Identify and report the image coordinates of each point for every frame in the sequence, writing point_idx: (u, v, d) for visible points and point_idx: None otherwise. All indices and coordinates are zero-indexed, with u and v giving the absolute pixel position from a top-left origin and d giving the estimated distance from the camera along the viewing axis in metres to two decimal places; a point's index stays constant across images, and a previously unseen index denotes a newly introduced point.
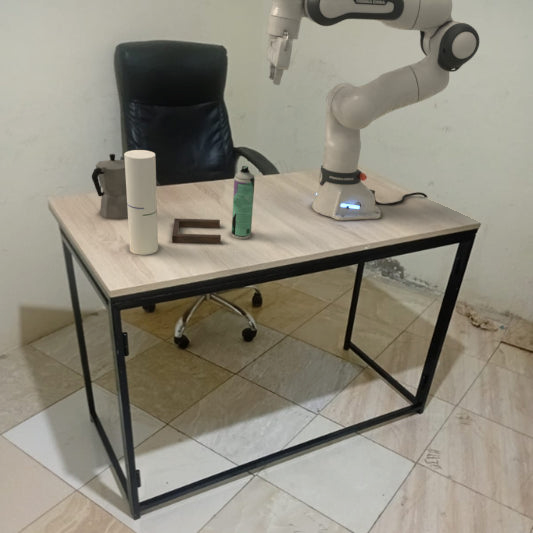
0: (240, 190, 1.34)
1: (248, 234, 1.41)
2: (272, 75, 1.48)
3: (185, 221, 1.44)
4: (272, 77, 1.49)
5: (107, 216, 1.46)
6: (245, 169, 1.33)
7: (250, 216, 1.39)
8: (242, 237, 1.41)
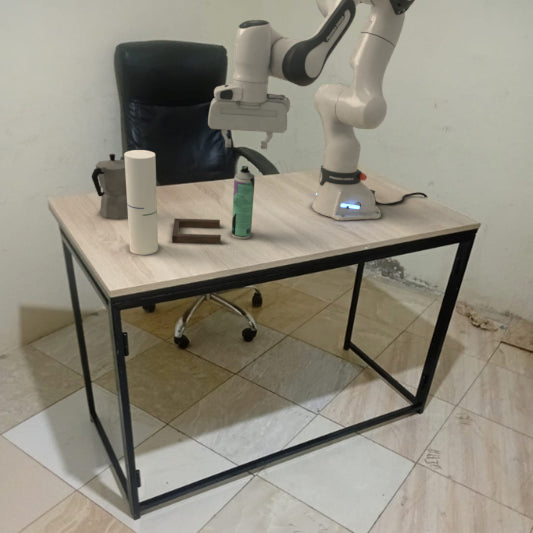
0: (240, 190, 1.34)
1: (248, 234, 1.41)
2: (230, 142, 1.30)
3: (185, 221, 1.44)
4: (230, 144, 1.31)
5: (107, 216, 1.46)
6: (245, 169, 1.33)
7: (250, 216, 1.39)
8: (242, 237, 1.41)
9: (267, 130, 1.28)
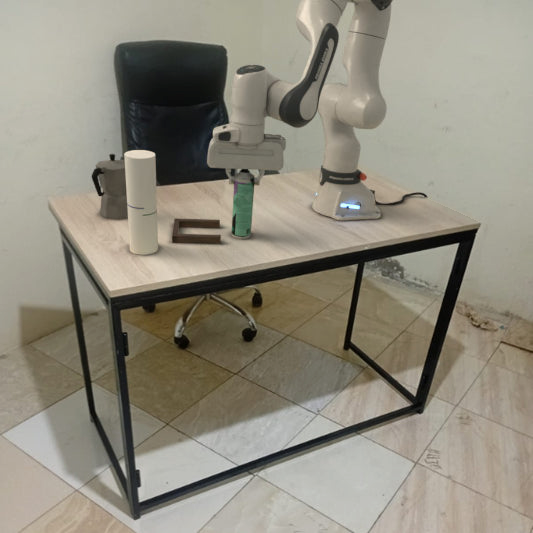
0: (240, 190, 1.34)
1: (248, 234, 1.41)
2: None
3: (185, 221, 1.44)
4: None
5: (107, 216, 1.46)
6: (245, 169, 1.33)
7: (250, 216, 1.39)
8: (242, 237, 1.41)
9: (264, 168, 1.33)
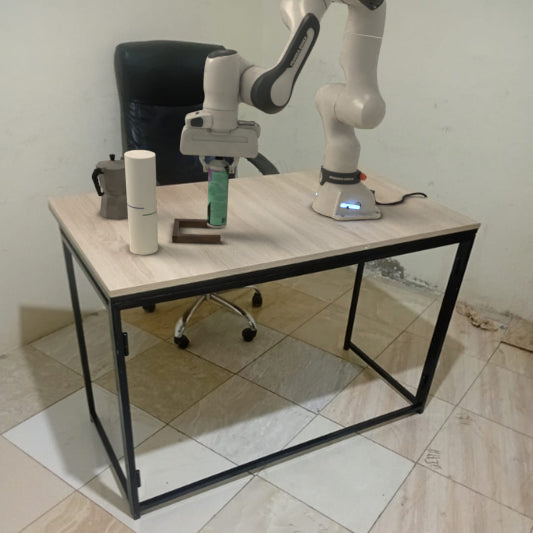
0: (214, 178, 1.32)
1: (223, 223, 1.39)
2: (208, 167, 1.33)
3: (185, 221, 1.44)
4: None
5: (107, 216, 1.46)
6: (219, 156, 1.31)
7: (225, 205, 1.37)
8: (217, 226, 1.38)
9: (238, 155, 1.30)
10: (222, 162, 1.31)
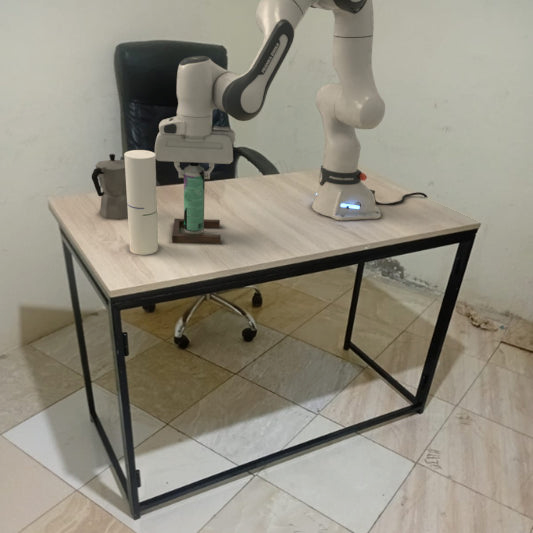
0: (189, 184, 1.32)
1: (200, 229, 1.39)
2: None
3: None
4: (183, 175, 1.33)
5: (107, 216, 1.46)
6: (194, 162, 1.31)
7: (201, 210, 1.37)
8: (194, 232, 1.38)
9: (213, 161, 1.31)
10: (197, 168, 1.31)
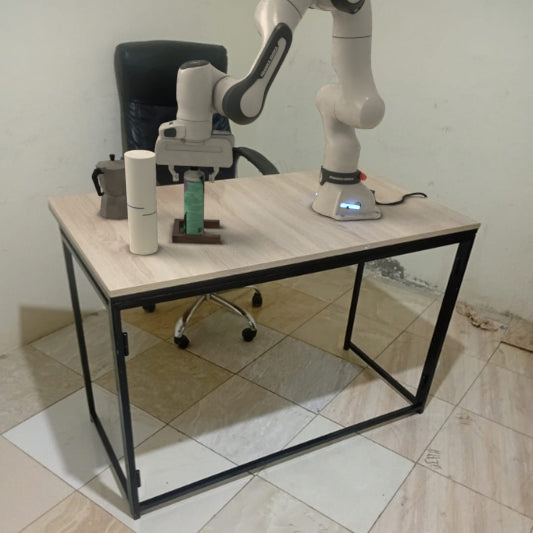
0: (189, 189, 1.32)
1: (200, 233, 1.39)
2: None
3: None
4: (178, 178, 1.33)
5: (107, 216, 1.46)
6: (194, 167, 1.32)
7: (201, 215, 1.37)
8: None
9: (213, 165, 1.31)
10: (197, 173, 1.32)
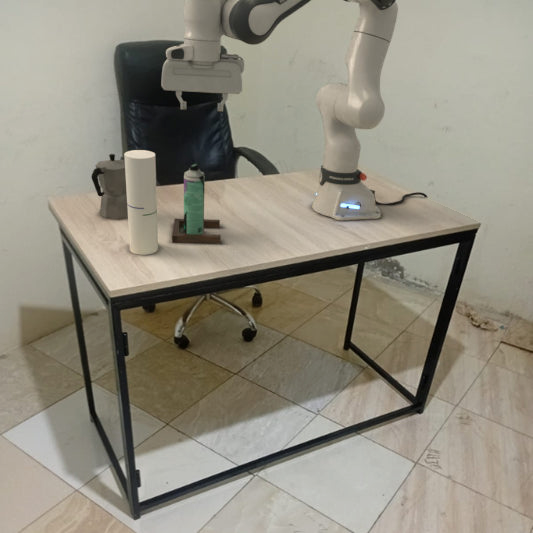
0: (189, 189, 1.32)
1: (200, 233, 1.39)
2: None
3: None
4: None
5: (107, 216, 1.46)
6: (194, 167, 1.32)
7: (201, 215, 1.37)
8: None
9: (222, 91, 1.27)
10: (197, 173, 1.32)
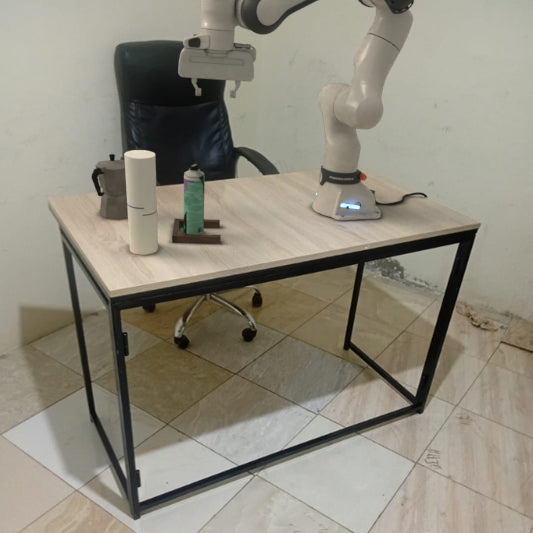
0: (189, 189, 1.32)
1: (200, 233, 1.39)
2: (200, 91, 1.37)
3: None
4: (200, 93, 1.37)
5: (107, 216, 1.46)
6: (194, 167, 1.32)
7: (201, 215, 1.37)
8: None
9: (235, 78, 1.35)
10: (197, 173, 1.32)
